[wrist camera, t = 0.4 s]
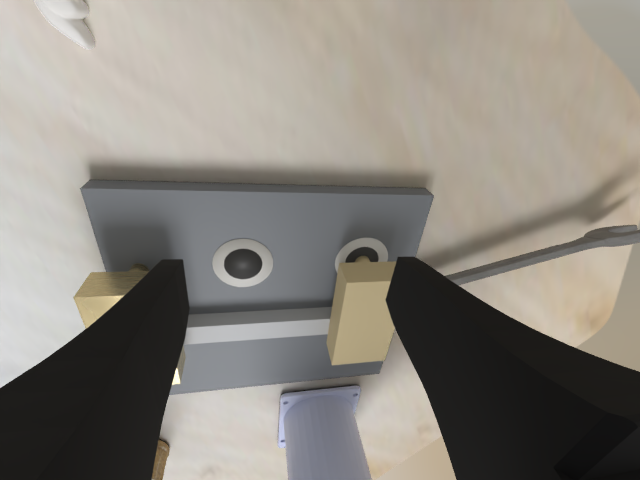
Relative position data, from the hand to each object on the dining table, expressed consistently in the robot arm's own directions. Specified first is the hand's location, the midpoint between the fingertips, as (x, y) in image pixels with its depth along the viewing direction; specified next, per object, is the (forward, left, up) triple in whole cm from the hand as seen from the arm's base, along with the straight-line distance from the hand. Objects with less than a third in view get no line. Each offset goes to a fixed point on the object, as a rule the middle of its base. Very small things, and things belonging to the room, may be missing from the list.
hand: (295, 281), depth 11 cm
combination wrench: (-7, -18, -10) cm, 22 cm away
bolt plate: (-9, 0, -10) cm, 14 cm away
